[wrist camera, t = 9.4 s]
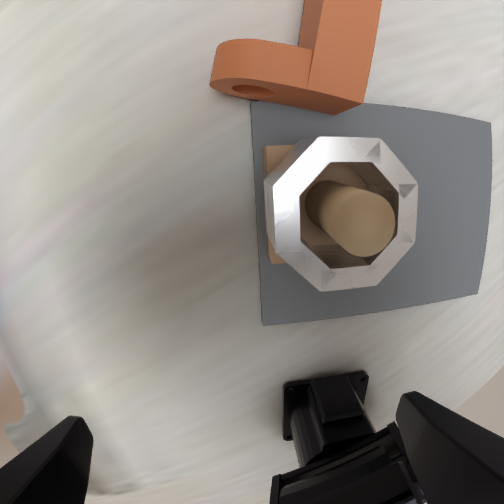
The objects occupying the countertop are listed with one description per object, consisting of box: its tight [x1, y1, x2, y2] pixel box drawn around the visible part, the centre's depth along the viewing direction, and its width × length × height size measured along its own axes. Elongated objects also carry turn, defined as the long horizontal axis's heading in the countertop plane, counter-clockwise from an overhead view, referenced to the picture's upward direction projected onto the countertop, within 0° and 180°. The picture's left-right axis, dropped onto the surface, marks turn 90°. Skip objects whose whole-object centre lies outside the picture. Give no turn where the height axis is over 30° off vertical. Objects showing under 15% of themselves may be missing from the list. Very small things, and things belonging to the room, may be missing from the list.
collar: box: [264, 137, 418, 292], centre depth 14 cm, size 6×6×4 cm
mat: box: [250, 101, 492, 326], centre depth 18 cm, size 13×17×1 cm
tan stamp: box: [263, 145, 395, 264], centre depth 14 cm, size 6×6×6 cm
